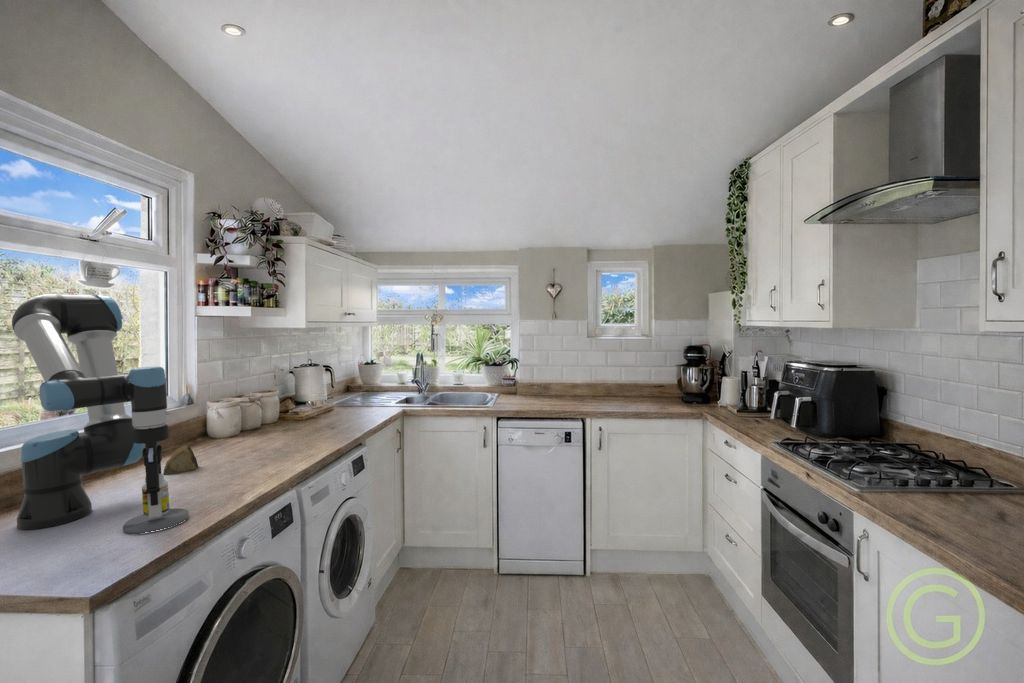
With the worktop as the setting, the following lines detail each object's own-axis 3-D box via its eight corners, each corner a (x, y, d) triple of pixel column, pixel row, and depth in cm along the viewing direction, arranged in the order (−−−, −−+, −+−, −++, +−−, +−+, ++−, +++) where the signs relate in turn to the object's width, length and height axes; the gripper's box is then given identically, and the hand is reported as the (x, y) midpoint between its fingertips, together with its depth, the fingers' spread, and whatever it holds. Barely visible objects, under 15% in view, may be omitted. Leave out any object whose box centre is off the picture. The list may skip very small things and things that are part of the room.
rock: (155, 471, 170) (185, 465, 172) (158, 449, 175) (188, 443, 176) (171, 481, 179) (199, 475, 180) (173, 460, 183) (201, 454, 185)
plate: (120, 539, 120) (119, 534, 120) (127, 520, 132) (126, 516, 132) (188, 525, 128) (188, 520, 127) (189, 508, 139) (189, 504, 139)
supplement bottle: (139, 516, 129) (136, 477, 128) (163, 508, 133) (160, 471, 133) (150, 519, 126) (147, 480, 125) (173, 512, 131) (171, 474, 130)
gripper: (166, 429, 123) (172, 520, 124) (170, 418, 138) (175, 499, 139) (128, 434, 119) (134, 528, 120) (136, 422, 134) (142, 505, 135)
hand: (156, 512), depth 130 cm, fingers closed on supplement bottle, 6 cm apart
